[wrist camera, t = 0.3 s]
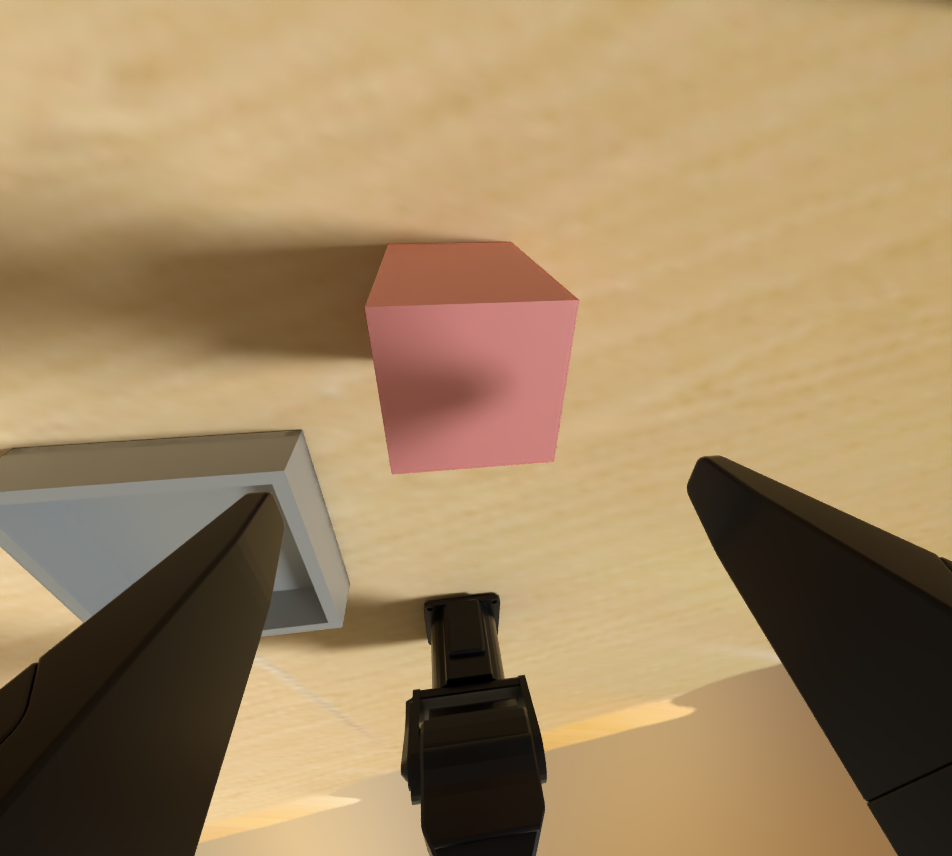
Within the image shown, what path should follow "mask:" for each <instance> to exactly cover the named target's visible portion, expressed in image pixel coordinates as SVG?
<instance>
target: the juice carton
mask: <svg viewBox="0 0 952 856" xmlns="http://www.w3.org/2000/svg"><path fill="white" fill-rule="evenodd" d="M578 304H579V300H578V299H577V298H576V297H575V296H574V295H573V294H571V293H570V292H569V291H568V290H567V289H566V288H564V287H563V286H562V285H561V284H560V283H559V282H557V281H556V280H555V279H554V278H553V277H552V276H550V275H549V274H548V273H547V272H546V271H545V270H543V269H542V268H541V267H540V266H539V265H538V264H536V263H535V262H534V261H533V260H532V259H531V258H529V257H528V256H527V255H526V254H525V253H524V252H522V251H521V250H520V249H519V248H518V247H517V246H515V245H514V244H513V243H512V242H479V243H419V244H388V246H387V249H386V251H385V254H384V257H383V259H382V262H381V265H380V267H379V270H378V273H377V275H376V278H375V281H374V283H373V286H372V289H371V292H370V294H369V297H368V300H367V302H366V305H365V312H366V318H367V325H368V331H369V337H370V343H371V349H372V356H373V362H374V368H375V374H376V380H377V386H378V393H379V399H380V405H381V411H382V417H383V423H384V430H385V436H386V442H387V448H388V454H389V461H390V467H391V473H392V474H403V473H416V472H428V471H441V470H454V469H467V468H480V467H493V466H505V465H518V464H531V463H544V462H554V458H555V451H556V445H557V438H558V432H559V426H560V419H561V413H562V406H563V400H564V394H565V387H566V381H567V374H568V368H569V361H570V355H571V349H572V342H573V336H574V329H575V323H576V316H577V310H578Z"/></svg>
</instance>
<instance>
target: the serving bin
mask: <svg viewBox="0 0 952 856" xmlns="http://www.w3.org/2000/svg"><path fill="white" fill-rule="evenodd" d="M264 491H268V492H271V493H272V494H273V496H274V498H275V500H276V503H277V505H278V508H279V510H280V512H281V515H282V517H283V520H284V534H283V540H282V545H281V551H280V556H279V562H278V567H277V573H276V578H275V583H274V589H273V594H272V599H271V604H270V607H269V611H268V615H267V618H266V621H265V625H264V628H263V631H262V635H261V637H265V636H274V635H282V634H291V633H299V632H308V631H316V630H325V629H334V628H342V627H343V622H344V616H345V610H346V604H347V597H348V591H349V585H350V582H349V579H348V575H347V572H346V569H345V566H344V563H343V559H342V556H341V553H340V550H339V547H338V543H337V540H336V537H335V534H334V531H333V527H332V524H331V521H330V518H329V514H328V511H327V508H326V505H325V502H324V498H323V495H322V492H321V489H320V486H319V482H318V479H317V476H316V473H315V470H314V466H313V463H312V460H311V457H310V454H309V450H308V447H307V444H306V441H305V438H304V434H303V431H302V430H293V431H277V432H262V433H246V434H231V435H215V436H200V437H184V438H168V439H153V440H137V441H122V442H106V443H91V444H75V445H60V446H44V447H29V448H13V449H11V450H10V451H8V452H7V453H6V454H4V455H3V456H1V457H0V547H1V548H2V549H4V550H5V551H6V552H7V553H8V554H9V555H10V556H11V557H12V558H13V559H14V560H16V561H17V562H18V563H19V564H20V565H21V566H22V567H23V568H24V569H25V570H27V571H28V572H29V573H30V574H31V575H32V576H33V577H34V578H35V579H36V580H37V581H39V582H40V583H41V584H42V585H43V586H44V587H45V588H46V589H47V590H48V591H49V592H51V593H52V594H53V595H54V596H55V597H56V598H57V599H58V600H59V601H60V602H62V603H63V604H64V605H65V606H66V607H67V608H68V609H69V610H70V611H71V612H72V613H74V614H75V615H76V616H77V617H78V618H79V619H80V620H81V621H82V622H83V623H84V622H86V621H87V620H88V619H89V618H91V617H92V616H93V615H94V614H96V613H97V612H98V611H99V610H101V609H102V608H103V607H104V606H106V605H107V604H108V603H109V602H111V601H112V600H113V599H114V598H116V597H117V596H118V595H119V594H121V593H122V592H123V591H125V590H126V589H127V588H128V587H130V586H131V585H132V584H133V583H135V582H136V581H137V580H138V579H140V578H141V577H142V576H143V575H145V574H146V573H147V572H148V571H150V570H151V569H152V568H153V567H155V566H156V565H157V564H158V563H160V562H161V561H162V560H163V559H165V558H166V557H167V556H169V555H170V554H171V553H172V552H174V551H175V550H176V549H177V548H179V547H180V546H181V545H182V544H184V543H185V542H186V541H187V540H189V539H190V538H191V537H192V536H194V535H195V534H196V533H197V532H199V531H200V530H201V529H202V528H204V527H205V526H206V525H208V524H209V523H210V522H211V521H213V520H214V519H215V518H216V517H218V516H219V515H220V514H221V513H223V512H224V511H225V510H226V509H228V508H229V507H230V506H231V505H233V504H234V503H235V502H236V501H238V500H239V499H240V498H241V497H243V496H244V495H246V494H247V493H251V492H264Z"/></svg>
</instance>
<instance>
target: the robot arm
mask: <svg viewBox="0 0 952 856" xmlns="http://www.w3.org/2000/svg"><path fill="white" fill-rule="evenodd" d="M687 492H688V496H689V498H690V500H691V502H692V504H693V506H694V508H695V510H696V512H697V515H698V517H699V519H700V521H701V523H702V525H703V527H704V529H705V531H706V533H707V535H708V538H709V540H710V542H711V544H712V546H713V548H714V550H715V552H716V554H717V556H718V558H719V559H720V561H721V563H722V565H723V566H724V568H725V570H726V571H727V573H728V575H729V576H730V578H731V580H732V581H733V583H734V584H735V586H736V588H737V589H738V591H739V593H740V594H741V596H742V598H743V599H744V601H745V603H746V604H747V606H748V608H749V609H750V611H751V613H752V614H753V616H754V618H755V619H756V621H757V623H758V624H759V626H760V628H761V629H762V631H763V633H764V634H765V636H766V637H767V639H768V641H769V642H770V644H771V646H772V647H773V649H774V651H775V652H776V654H777V656H778V657H779V659H780V661H781V662H782V664H783V665H784V667H785V669H786V671H787V672H788V674H789V676H790V677H791V679H792V680H793V682H794V684H795V685H796V687H797V689H798V690H799V692H800V694H801V695H802V697H803V698H804V700H805V702H806V703H807V705H808V707H809V709H810V710H811V712H812V713H813V715H814V717H815V718H816V720H817V722H818V724H819V725H820V727H821V729H822V730H823V732H824V734H825V735H826V737H827V738H828V740H829V742H830V743H831V745H832V747H833V748H834V750H835V752H836V753H837V755H838V757H839V758H840V760H841V762H842V763H843V765H844V767H845V768H846V770H847V771H848V773H849V775H850V776H851V778H852V780H853V782H854V783H855V785H856V787H857V788H858V790H859V791H860V793H861V795H862V796H863V798H864V799H865V800H866V801H867V805H868V807H869V809H870V810H871V812H872V814H873V815H874V817H875V819H876V820H877V822H878V824H879V825H880V827H881V829H882V830H883V832H884V834H885V835H886V837H887V839H888V840H889V842H890V843H891V845H892V847H893V848H894V850H895V852H896V853H897V855H898V856H952V561H950V560H948V559H945V558H943V557H938V556H937V555H936V554H934V553H932V552H930V551H928V550H926V549H923V548H921V547H919V546H917V545H915V544H912V543H910V542H908V541H906V540H904V539H902V538H899V537H897V536H895V535H893V534H891V533H888V532H886V531H884V530H882V529H880V528H878V527H875V526H873V525H871V524H869V523H867V522H864V521H862V520H860V519H858V518H856V517H854V516H851V515H849V514H847V513H845V512H843V511H840V510H838V509H836V508H834V507H832V506H830V505H827V504H825V503H823V502H821V501H819V500H816V499H814V498H812V497H810V496H808V495H806V494H803V493H801V492H799V491H797V490H795V489H792V488H790V487H788V486H786V485H784V484H782V483H779V482H777V481H775V480H773V479H771V478H768V477H766V476H764V475H762V474H760V473H758V472H755V471H753V470H751V469H749V468H747V467H744V466H742V465H740V464H738V463H736V462H734V461H731V460H729V459H727V458H725V457H722V456H704V457H701V458H700V459H698V460H697V462H696V465H695V467H694V469H693V472H692V474H691V476H690V479H689V481H688V484H687ZM283 534H284V520H283V517H282V515H281V512H280V510H279V508H278V505H277V503H276V500H275V498H274V496H273V494H272V493H271V492H268V491H264V492H251V493H247V494H246V495H244V496H243V497H241V498H240V499H239V500H238V501H236V502H235V503H234V504H233V505H231V506H230V507H229V508H228V509H226V510H225V511H224V512H223V513H221V514H220V515H219V516H218V517H216V518H215V519H214V520H213V521H211V522H210V523H209V524H208V525H206V526H205V527H204V528H202V529H201V530H200V531H199V532H197V533H196V534H195V535H194V536H192V537H191V538H190V539H189V540H187V541H186V542H185V543H184V544H182V545H181V546H180V547H179V548H177V549H176V550H175V551H174V552H172V553H171V554H170V555H169V556H167V557H166V558H165V559H163V560H162V561H161V562H160V563H158V564H157V565H156V566H155V567H153V568H152V569H151V570H150V571H148V572H147V573H146V574H145V575H143V576H142V577H141V578H140V579H138V580H137V581H136V582H135V583H133V584H132V585H131V586H130V587H128V588H127V589H126V590H125V591H123V592H122V593H121V594H119V595H118V596H117V597H116V598H114V599H113V600H112V601H111V602H109V603H108V604H107V605H106V606H104V607H103V608H102V609H101V610H99V611H98V612H97V613H96V614H94V615H93V616H92V617H91V618H89V619H88V620H87V621H86V622H84V623H83V624H82V625H80V626H79V627H78V628H77V629H75V630H74V631H73V632H72V633H70V634H69V635H68V636H67V637H65V638H64V639H63V640H62V641H60V642H59V643H58V644H57V645H55V646H54V647H53V648H52V649H50V650H49V651H48V652H46V653H45V654H44V655H43V656H41V657H40V659H39V661H38V663H33V664H31V665H30V666H29V667H27V668H26V669H25V670H24V671H22V672H21V673H20V674H19V675H17V676H16V677H15V678H14V679H12V680H11V681H10V682H9V683H7V684H6V685H5V686H3V687H2V688H1V689H0V856H194V855H195V852H196V849H197V845H198V842H199V839H200V836H201V832H202V829H203V826H204V822H205V819H206V816H207V812H208V809H209V806H210V803H211V799H212V796H213V793H214V789H215V786H216V783H217V780H218V776H219V773H220V770H221V766H222V763H223V760H224V756H225V753H226V750H227V747H228V743H229V740H230V737H231V733H232V730H233V727H234V724H235V720H236V717H237V714H238V710H239V707H240V704H241V700H242V697H243V694H244V691H245V687H246V684H247V681H248V677H249V674H250V671H251V668H252V664H253V661H254V658H255V654H256V651H257V648H258V645H259V641H260V638H261V635H262V631H263V628H264V625H265V621H266V618H267V615H268V611H269V607H270V604H271V599H272V594H273V589H274V583H275V578H276V573H277V567H278V562H279V556H280V551H281V545H282V540H283ZM499 610H500V598H499V596H498V595H496V594H493V595H484V596H475V597H466V598H458V599H449V600H440V601H431V602H427V603H425V604H424V614H425V622H426V629H427V637H428V643H429V644H430V645H431V654H432V689H427V690H420V689H416V690H413V697H412V698H411V699H410V700H408V701H406V722H405V735H404V744H403V752H402V761H401V775H402V776H403V778H404V779H405V780H406V781H407V782H408V787H409V791H411V801H412V805H417V804H421V827H422V832H423V835H424V838H425V842H426V846H427V850H428V853H429V855H430V856H536V852H537V847H538V842H539V837H540V832H541V827H542V822H543V818H544V813H545V802H544V797H543V791H542V786H541V784H543V783H546V780H547V771H546V761H545V753H544V747H543V742H542V737H541V733H540V729H539V725H538V721H537V718H536V714H535V710H534V707H533V703H532V700H531V696H530V692H529V689H528V685H527V681H526V678H525V675H520V676H518V677H515V678H508V679H505V678H504V672H503V666H502V660H501V654H500V648H499V642H498V636H497V635H498V624H499Z"/></svg>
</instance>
